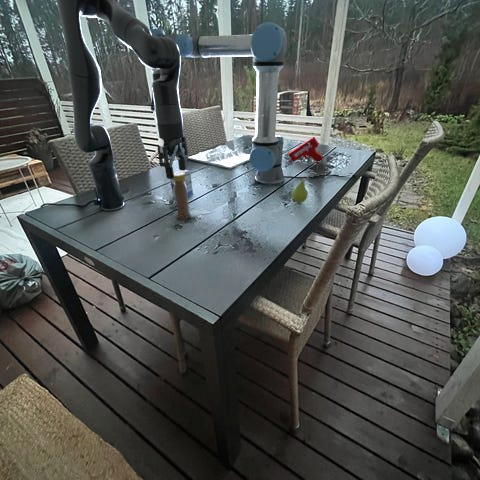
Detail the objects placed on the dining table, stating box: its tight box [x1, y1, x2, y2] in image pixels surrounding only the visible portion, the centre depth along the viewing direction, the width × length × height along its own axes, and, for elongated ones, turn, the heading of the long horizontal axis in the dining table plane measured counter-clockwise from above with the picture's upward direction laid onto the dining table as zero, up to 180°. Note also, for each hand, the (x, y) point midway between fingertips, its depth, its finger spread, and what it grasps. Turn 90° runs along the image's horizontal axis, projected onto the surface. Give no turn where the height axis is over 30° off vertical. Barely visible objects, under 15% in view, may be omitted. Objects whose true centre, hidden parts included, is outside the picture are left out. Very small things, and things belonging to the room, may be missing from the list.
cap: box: [173, 171, 185, 181], centre depth 101 cm, size 4×4×2 cm
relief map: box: [188, 144, 250, 170], centre depth 178 cm, size 27×35×5 cm
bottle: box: [174, 180, 191, 220], centre depth 106 cm, size 5×5×18 cm
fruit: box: [291, 174, 311, 204], centre depth 118 cm, size 7×8×12 cm
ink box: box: [169, 169, 194, 200], centre depth 124 cm, size 8×5×12 cm, turn 135°
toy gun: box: [288, 136, 324, 164], centre depth 170 cm, size 18×4×15 cm
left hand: (176, 174), depth 89 cm, fingers open, 8 cm apart
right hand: (167, 124), depth 132 cm, fingers open, 13 cm apart
